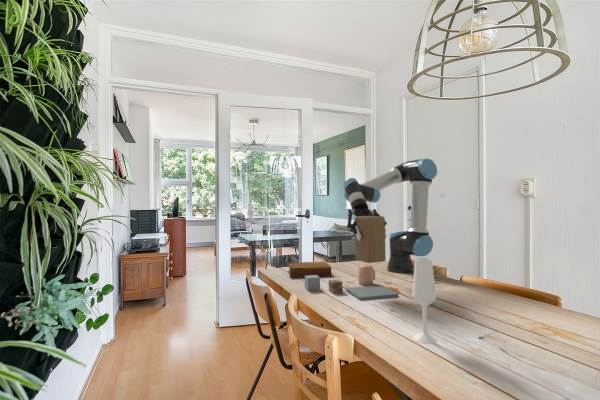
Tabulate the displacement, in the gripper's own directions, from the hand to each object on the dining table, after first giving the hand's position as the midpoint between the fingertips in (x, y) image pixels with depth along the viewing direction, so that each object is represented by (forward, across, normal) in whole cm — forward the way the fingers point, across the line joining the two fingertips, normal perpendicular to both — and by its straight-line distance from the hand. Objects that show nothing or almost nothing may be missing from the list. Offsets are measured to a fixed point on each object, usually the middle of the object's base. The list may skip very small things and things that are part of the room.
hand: (372, 238), depth 152 cm
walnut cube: (+10, +14, -25) cm, 31 cm away
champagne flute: (+52, +6, +16) cm, 55 cm away
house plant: (+30, -16, -6) cm, 35 cm away
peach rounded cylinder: (+4, -5, -32) cm, 32 cm away
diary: (-19, +16, -56) cm, 61 cm away
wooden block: (+6, 0, -9) cm, 11 cm away
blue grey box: (+5, +23, -31) cm, 39 cm away
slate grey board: (+16, 0, -20) cm, 25 cm away
